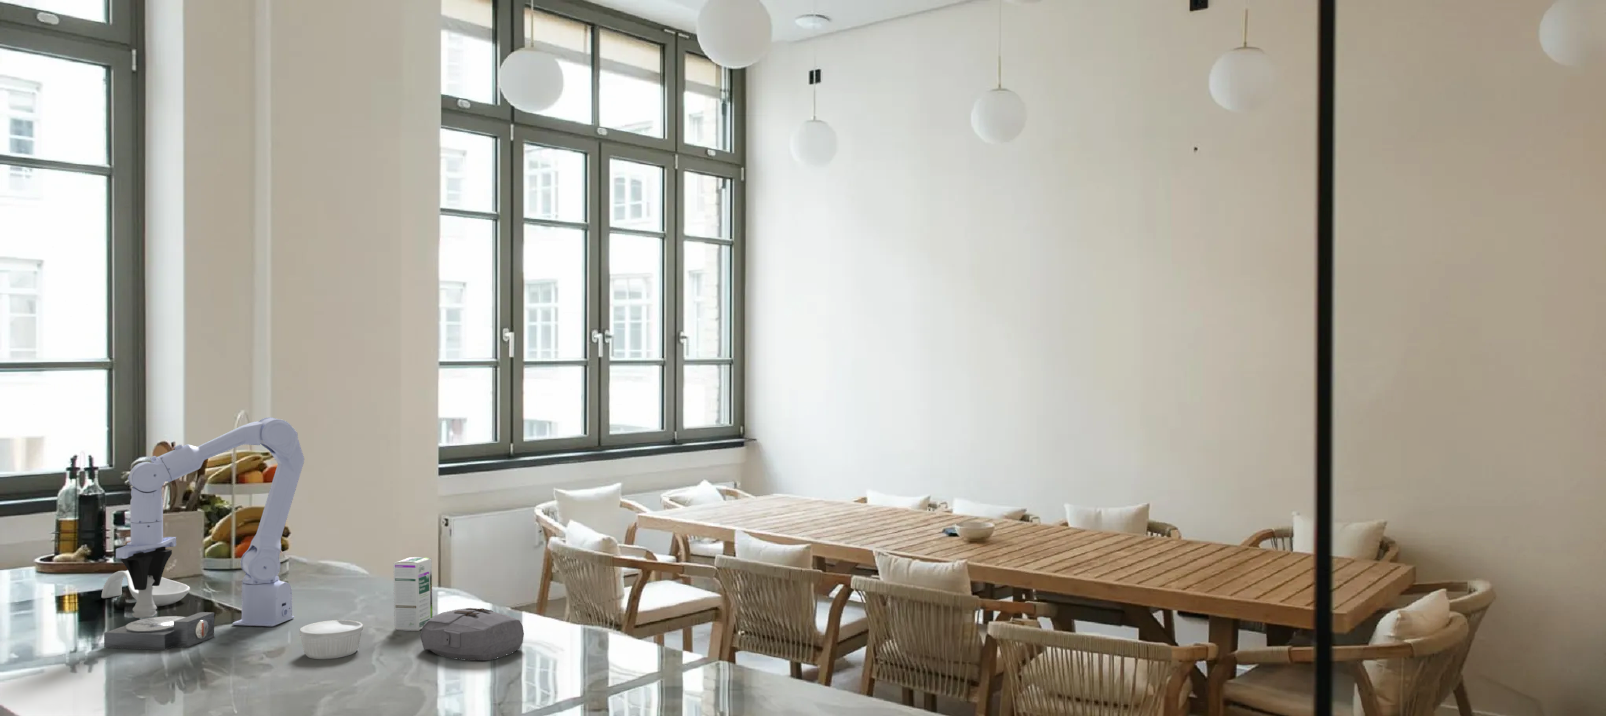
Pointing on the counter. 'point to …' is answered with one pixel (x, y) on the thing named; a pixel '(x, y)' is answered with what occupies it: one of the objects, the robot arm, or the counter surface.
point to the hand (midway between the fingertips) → (147, 587)
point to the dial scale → (162, 632)
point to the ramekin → (331, 638)
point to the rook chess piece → (145, 601)
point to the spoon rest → (161, 594)
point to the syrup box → (412, 593)
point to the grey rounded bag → (472, 634)
